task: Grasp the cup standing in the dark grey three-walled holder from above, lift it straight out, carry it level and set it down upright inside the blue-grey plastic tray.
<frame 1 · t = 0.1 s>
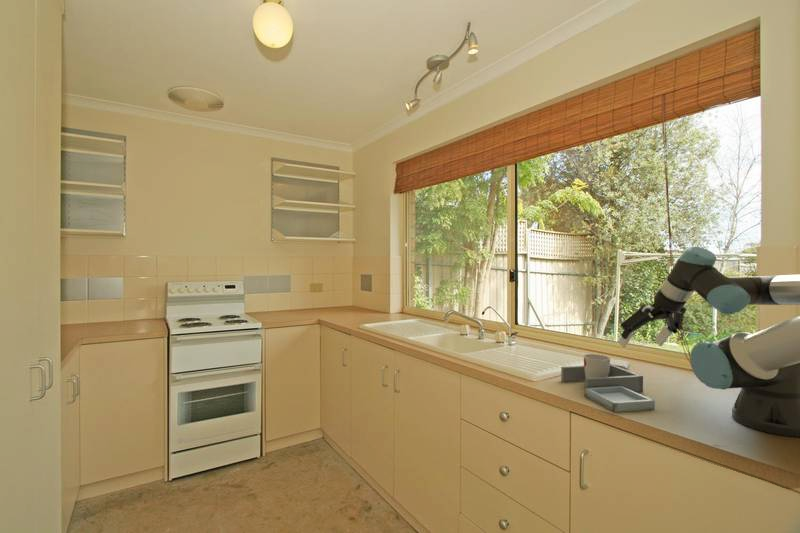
hand: (639, 343, 128), 15 cm above the table, tool tilted 35°, fingers open, 13 cm apart
charger: (615, 373, 149), on the table
cup: (596, 386, 132), resting in holder
tray: (618, 402, 117), on the table
holder: (600, 385, 133), on the table
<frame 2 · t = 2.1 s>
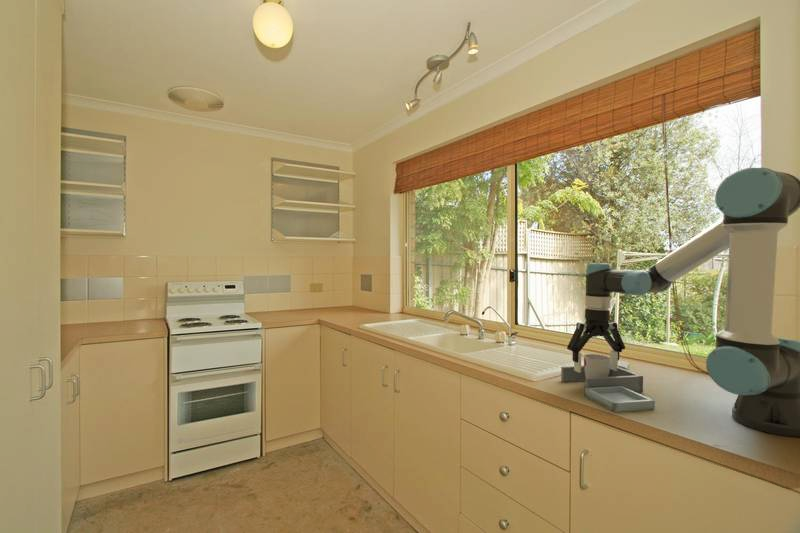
hand: (595, 370, 133), 5 cm above the table, tool pointing down, fingers open, 13 cm apart
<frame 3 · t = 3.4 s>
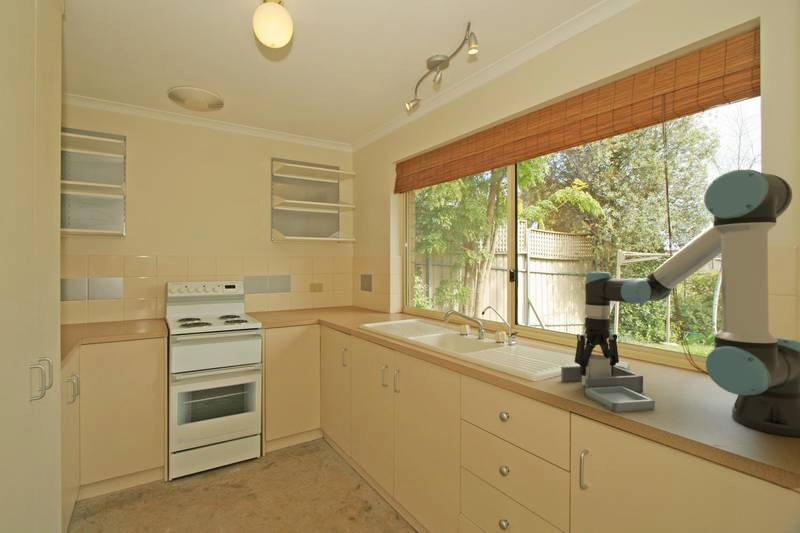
hand: (596, 384, 132), 1 cm above the table, tool pointing down, fingers closed on cup, 8 cm apart
cup: (596, 386, 132), resting in holder, touching gripper
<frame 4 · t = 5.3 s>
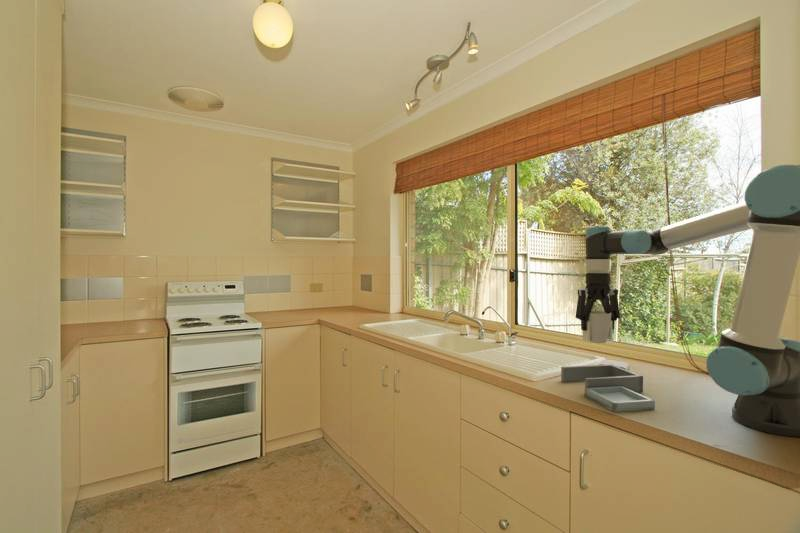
hand: (597, 339, 132), 16 cm above the table, tool pointing down, fingers closed on cup, 8 cm apart
cup: (597, 342, 132), point 15 cm above the table, touching gripper
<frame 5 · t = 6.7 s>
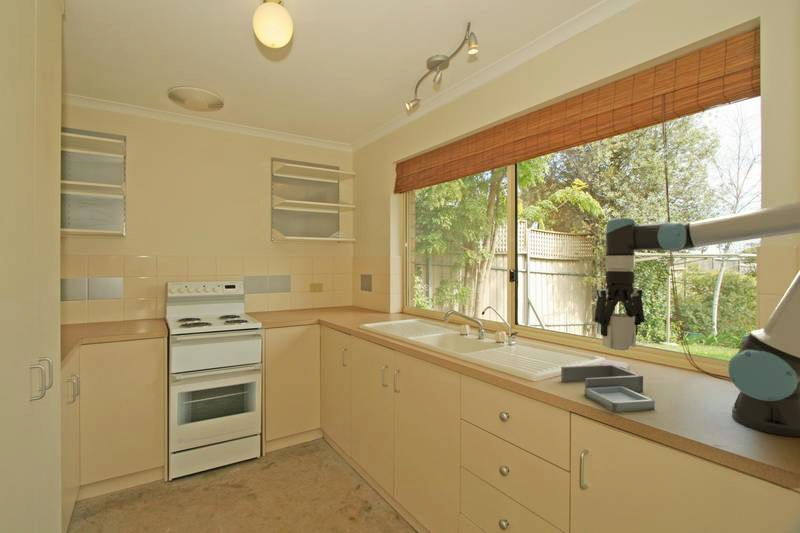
hand: (618, 346, 117), 17 cm above the table, tool pointing down, fingers closed on cup, 8 cm apart
cup: (618, 349, 117), point 16 cm above the table, touching gripper
when the fingers open (4 cm above the table, at t = 9.9 s): cup drops 2 cm, resting on tray.
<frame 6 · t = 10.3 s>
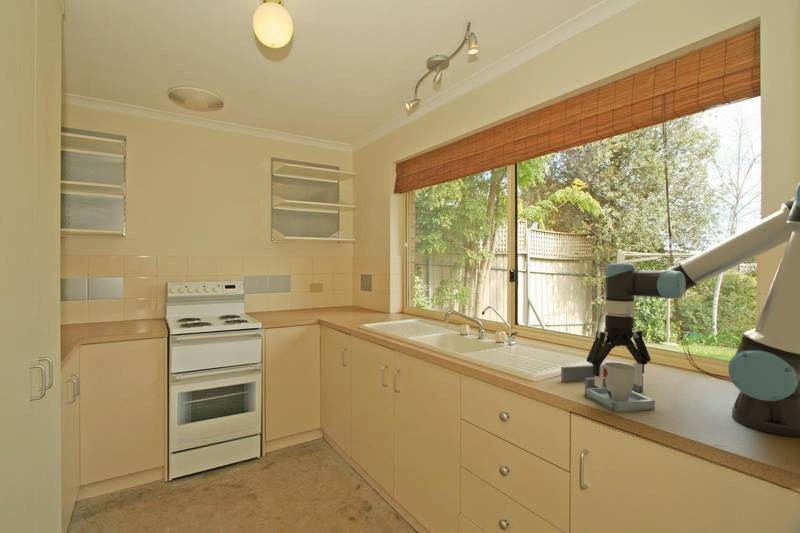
hand: (618, 385, 117), 5 cm above the table, tool pointing down, fingers open, 12 cm apart
cup: (618, 399, 117), point 1 cm above the table, touching tray
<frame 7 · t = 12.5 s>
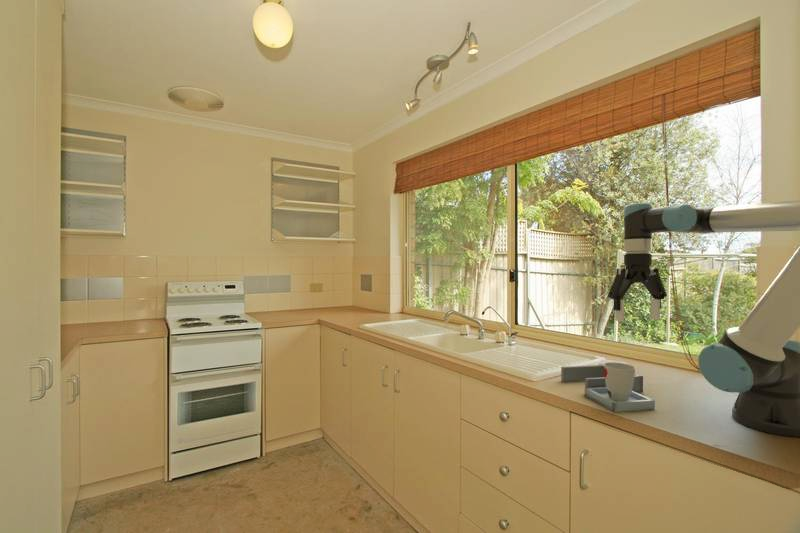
hand: (637, 320, 123), 24 cm above the table, tool pointing down, fingers open, 13 cm apart
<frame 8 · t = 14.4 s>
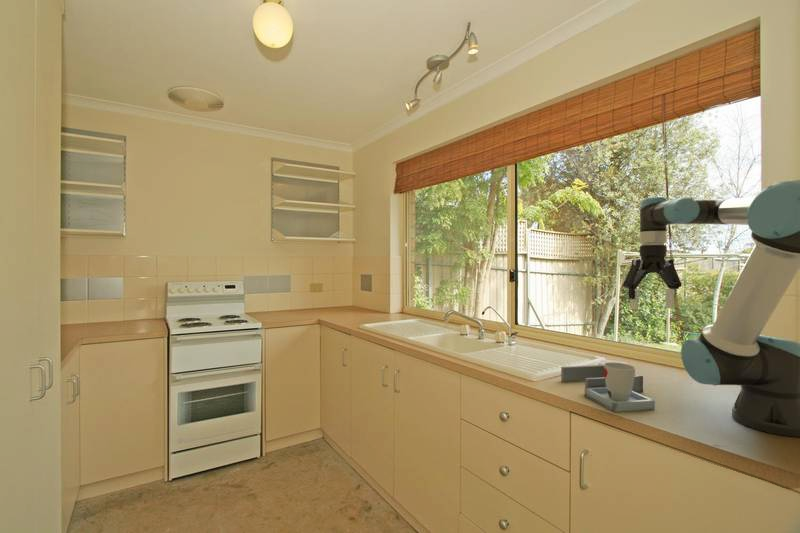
hand: (652, 308, 130), 27 cm above the table, tool pointing down, fingers open, 13 cm apart
at the end: cup inside the target area on the tray (0.2 cm from its centre), point 0.8 cm above the tray's base; cup tilted 0°; the gripper is holding nothing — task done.
